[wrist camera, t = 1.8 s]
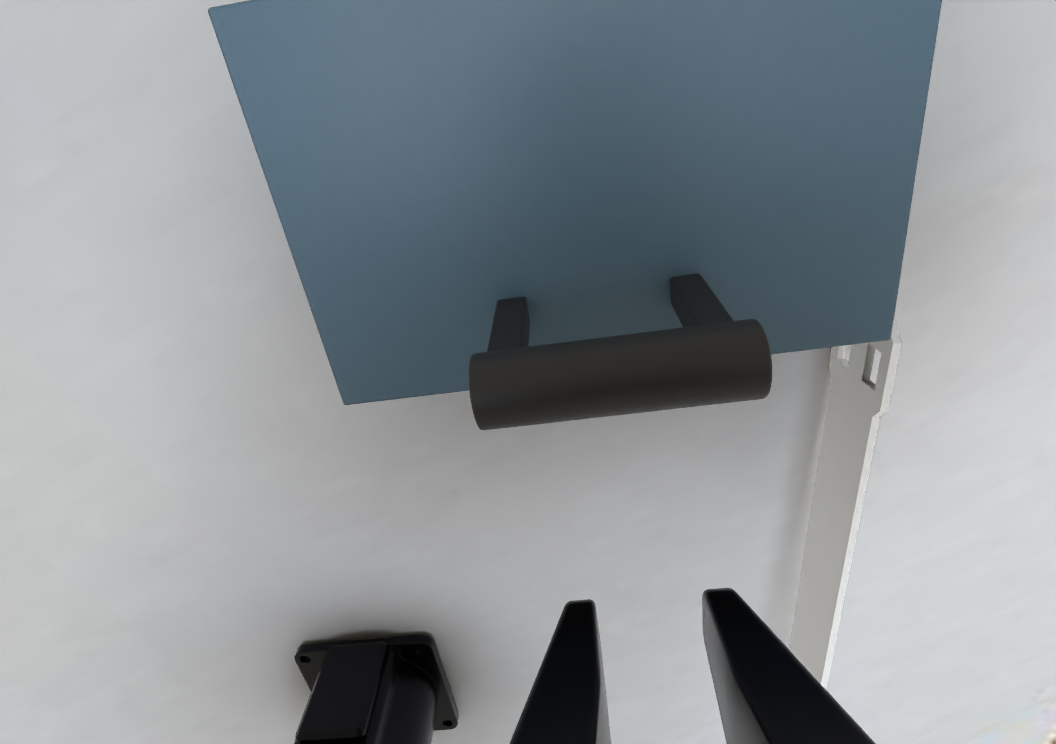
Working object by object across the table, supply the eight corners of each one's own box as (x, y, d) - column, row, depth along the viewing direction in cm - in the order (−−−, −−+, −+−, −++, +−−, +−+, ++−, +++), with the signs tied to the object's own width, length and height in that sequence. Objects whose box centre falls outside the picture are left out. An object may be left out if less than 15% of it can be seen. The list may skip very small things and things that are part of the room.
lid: (876, 329, 15) (1024, 449, 10) (351, 392, 16) (274, 525, 11) (939, -124, 10) (1236, -262, 6) (223, 10, 12) (23, -20, 7)
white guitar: (927, 271, 21) (809, 276, 21) (1138, 355, 13) (952, 362, 14) (797, 887, 36) (728, 887, 36) (862, 1090, 28) (776, 1088, 28)
